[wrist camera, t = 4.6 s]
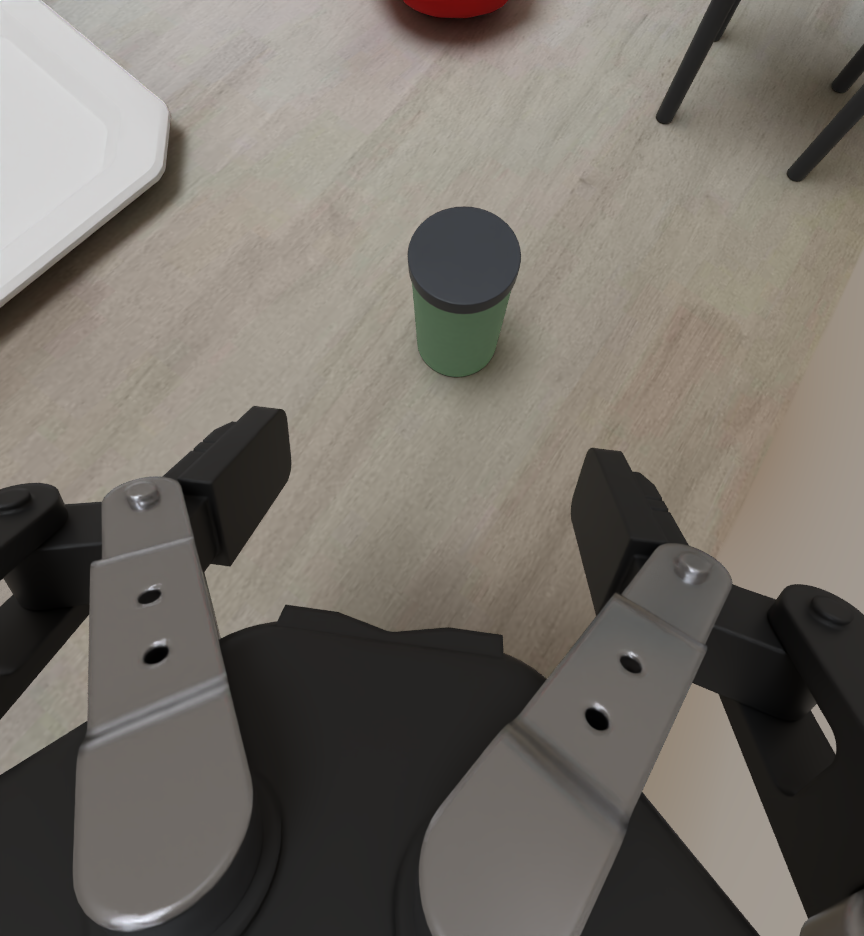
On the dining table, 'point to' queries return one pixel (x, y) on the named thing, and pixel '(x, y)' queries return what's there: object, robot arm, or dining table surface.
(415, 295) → the plastic tub
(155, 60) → the dining table surface
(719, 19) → the tray
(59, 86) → the plate
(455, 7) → the tomato
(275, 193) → the dining table surface
